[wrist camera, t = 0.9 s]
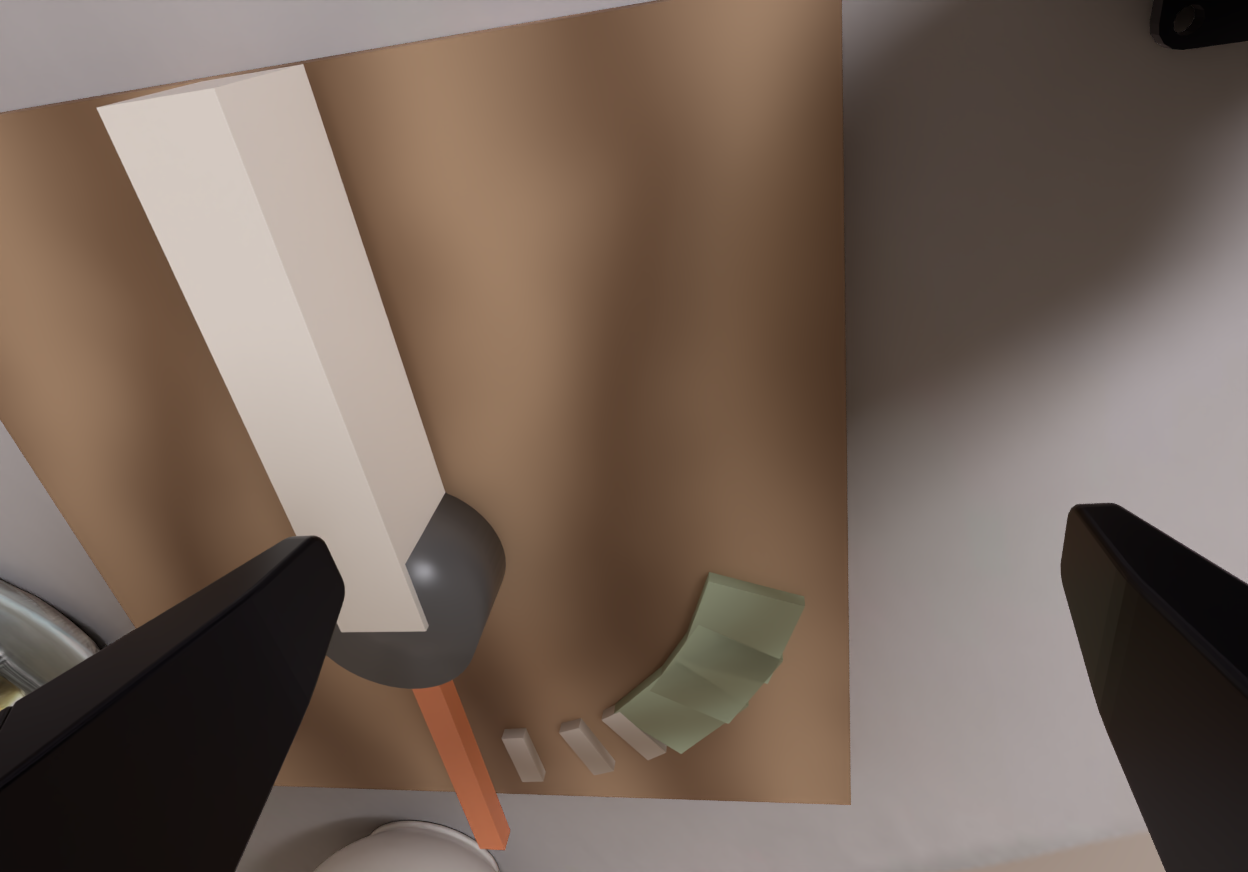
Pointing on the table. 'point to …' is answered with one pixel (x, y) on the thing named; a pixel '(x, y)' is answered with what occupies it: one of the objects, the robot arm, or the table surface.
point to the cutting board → (515, 388)
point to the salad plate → (35, 644)
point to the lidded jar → (411, 851)
